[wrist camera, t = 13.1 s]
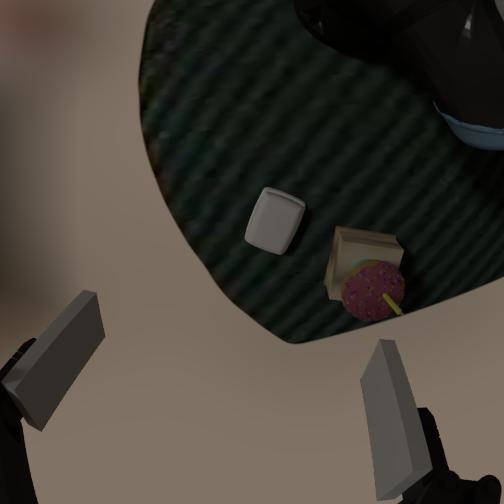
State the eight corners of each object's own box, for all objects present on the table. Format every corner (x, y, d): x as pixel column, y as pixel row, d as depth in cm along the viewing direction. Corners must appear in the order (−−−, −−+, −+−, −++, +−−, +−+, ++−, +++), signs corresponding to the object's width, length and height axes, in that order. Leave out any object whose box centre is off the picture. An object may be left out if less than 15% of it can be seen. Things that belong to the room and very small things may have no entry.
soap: (284, 254, 47) (284, 263, 44) (242, 238, 46) (239, 245, 44) (308, 201, 43) (310, 207, 40) (264, 183, 43) (262, 187, 40)
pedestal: (336, 225, 44) (341, 238, 39) (395, 235, 43) (406, 248, 39) (323, 283, 48) (327, 300, 43) (379, 289, 47) (387, 306, 43)
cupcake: (365, 234, 39) (393, 279, 28) (405, 269, 40) (438, 318, 29) (324, 280, 42) (335, 335, 31) (365, 310, 43) (384, 366, 32)
